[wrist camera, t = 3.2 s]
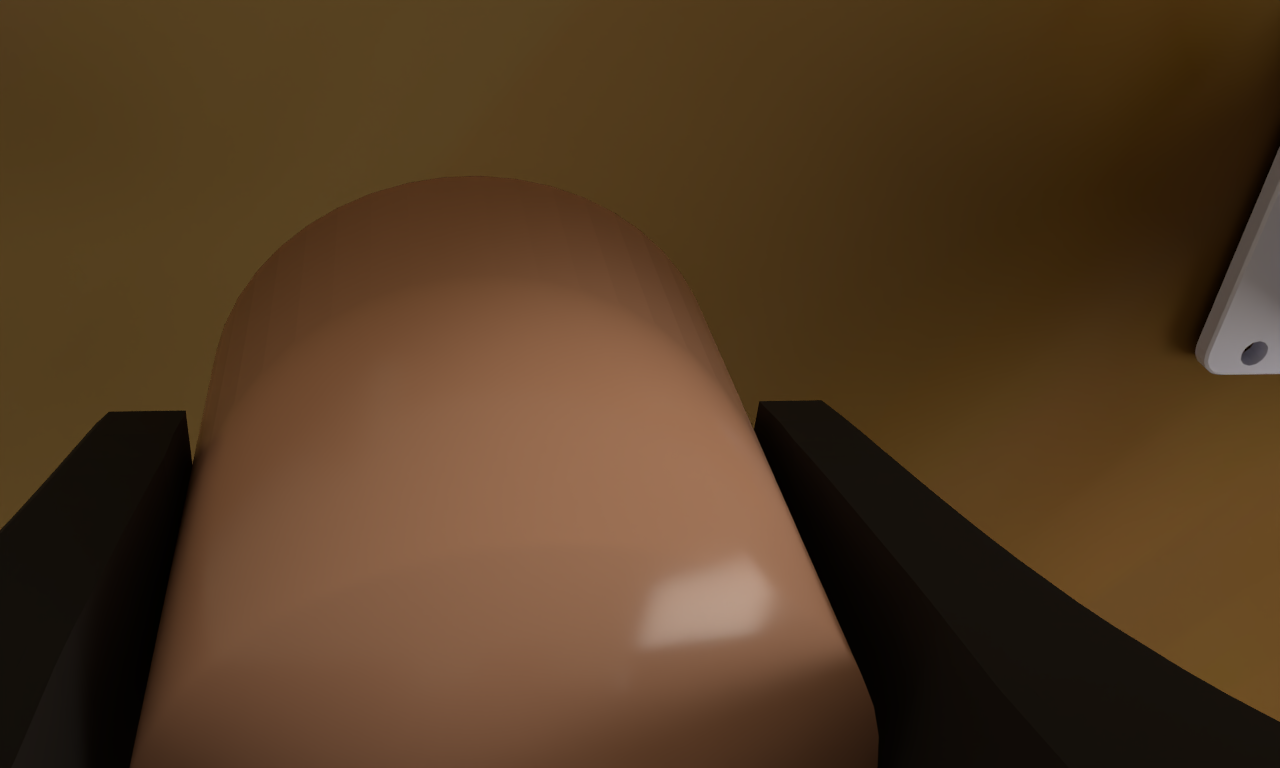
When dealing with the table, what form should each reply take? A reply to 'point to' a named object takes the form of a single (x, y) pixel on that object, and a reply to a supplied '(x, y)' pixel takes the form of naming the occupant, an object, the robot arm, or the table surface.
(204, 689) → the terracotta cylinder
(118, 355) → the table surface
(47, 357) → the table surface
